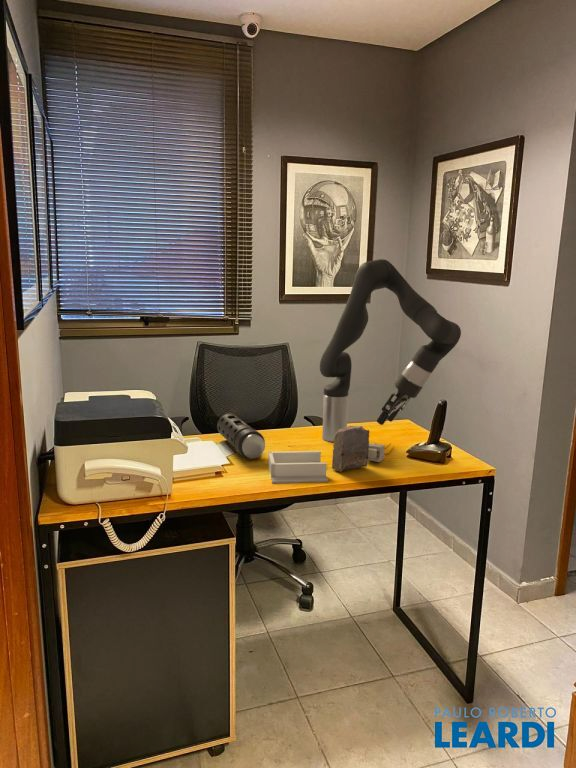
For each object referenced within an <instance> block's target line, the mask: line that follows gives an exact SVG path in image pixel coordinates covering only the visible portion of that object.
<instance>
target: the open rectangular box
mask: <svg viewBox="0 0 576 768" xmlns="http://www.w3.org/2000/svg"><path fill="white" fill-rule="evenodd" d="M321 453H322V452H321V450H307V451H306V450H302V451H301V450H298V451H297V450H296V451H286V450H284V451H268V453H267V454H268V458H267V459H268V461H267V462H268V465H267V466H268V470H269V474H270V475H271V476H270V481H271V480H272V481H271V483H272V484H303V483H304V484H305V483H306V482H307V484H308V483H309V482H311V483H329V479H328V476H327V464H328V463H327V462H326V461H325V462H322V461H321V459H322V458H321V457H322V456H321V455H322V454H321ZM299 482H301V483H299ZM302 482H303V483H302Z"/></svg>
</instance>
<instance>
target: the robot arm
mask: <svg viewBox="0 0 576 768" xmlns="http://www.w3.org/2000/svg"><path fill="white" fill-rule="evenodd" d="M384 288H385V289H388V290H389V291H391V292H392V293H393V294H394V295H396V297H397V299H398V303H399V305H400V308H401V311H402V312H403V313H404V314H405V316H407V317H408V318H409V319H410V320H411V321H413V323H415V324H416V325H417V326H418V327H419V328H420V329H421V331H422V332H424V333H425V335H426V336H427V337H428V338H429V339H430V340H431V341H429V343H428V344H426V345H425V344H424V345H421V346H420V347H419V349H418V350H417V351H416V353H415V354H414V356H413V357H412V359H411V360H410V361H409V363H408V364H407V365H406V366H405V368H404V369H403V371H402V372H401V374H400V375H399V376H398V378H397V379H396V381H395V383H394V387H395V388H396V389H397V392H396V393H391V395H390V396H389V397H388V399H387V401H386V402H385V403H384V405H383V406H382V408H381V411H382V412H381V413H380V415H379V416H378V418H377V420H376V422H377V423H378V425H380V426H383V425H384V424H385V423H386V421H389V422H391V423H392V422H393V421H394V420H395V418H396V417H397V415H398V414H399V413H400V412H401V411H403V410H404V409H405V406H406V405H407V404H408V402H409V401H410V399H411V398H412V399H416V398H417V397H418V395H419V394H420V392H421V391H422V390H423V388H424V387H425V385H426V383H428V380H430V377H431V375H432V373H433V372H434V370H435V369H436V368H437V366H438V365H439V362H441V360H442V359H444V358H445V357H446V356H447V355H448V354H449V353H450V352H451V351H452V349H454V348H455V347H456V346H457V344H458V343H459V341H460V339H461V337H462V330H461V327H460V326H459V325H458V324H457V323H456V322H453V321H451V320H448V319H446V318H445V317H444V316H442V315H441V314H439V312H438V311H437V309H436V308H435V307H434V305H432V304H431V303H429V302H428V301H427V300H426V299H425V298H424V297H422V295H420V294H419V293H418V292H417V291H415V290H414V288H413V287H412V286H411V285H410V284H409V282H408V281H407V280H406V279H405V278H404V276H402V274H401V273H400V271H398V269H397V268H396V267H395V265H393V264H392V263H391V262H390V261H389V260H387V259H384V258H381V259H375V260H369V261H366V262H363V263H361V264H360V265H359V267H358V269H357V271H356V274H355V276H354V280H353V283H352V287H351V290H350V294H349V297H348V299H347V302H346V304H345V307H344V309H343V311H342V313H341V316H340V319H339V321H338V323H337V326H336V329H335V331H334V333H333V335H332V338H331V340H330V341H329V344H328V345H327V347H326V349H325V350H324V352H323V353H322V355H321V358H320V361H319V372H320V374H321V375H322V376H323V377H324V378H335V379H334V381H332V382H331V383H329V384H327V385H325V386H324V388H323V400H322V401H323V403H322V404H323V406H322V407H323V408H322V409H323V411H322V432H321V433H322V434H321V436H322V437H321V439H322V440H323V441H327V442H332V443H334V441H333V439H334V437H335V435H336V433H337V432H338V431H339V429H341V428H344V427H348V413H349V412H348V410H349V390H350V387H351V377H352V367H353V366H352V358H351V355H350V354H349V353H348V352H346V350H347V349H348V348H349V347H351V346H352V345H354V344H355V343H356V342H357V341H358V340H359V339H360V338H361V337H362V335H363V334H364V332H365V330H366V327H367V325H368V322H369V313H368V309H367V302H368V300H369V298H370V296H371V294H372V293H373V292H374V291H376V290H380V289H381V290H382V289H384ZM388 408H389V409H388Z"/></svg>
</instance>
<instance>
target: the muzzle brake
mask: <svg viewBox="0 0 576 768" xmlns="http://www.w3.org/2000/svg"><path fill="white" fill-rule="evenodd" d="M216 429H217V431H218V433H219V434H220V435H221V436H222V437H223V438H224V439H225V440H226V441H227V442H228V443H230V444H231V446H233V447H234V449H236V451H237V452H238V453H239V455H241V456H242V457H244V458H246V459H252V460H253V459H257V458H259V457H261V456H262V455H263V453H264V451H265V449H266V440H265V438H264V436H263V435H262V434H261V432H259V431H258V430H256V429H254V428H252V427H251V426H250V425H248V424H247V423H246V422H245V421H243V420H242V419H241V418H240V417H238V416H237V415H236V414H234V413H225V414H223V415H222V416H221V417H220V418H219V419H218V421H217V425H216Z"/></svg>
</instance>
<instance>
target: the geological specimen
mask: <svg viewBox="0 0 576 768" xmlns="http://www.w3.org/2000/svg"><path fill="white" fill-rule="evenodd" d="M333 441H334V442H333V444H332V445H333V449H332V461H331V462H332V463H331V469H332V470H334V471H336V472H340V473H341V472H343V471H344V470H345V471H346V470H347V471H348V470H352V469H357V468H362V467H365V468H367V467H368V465H369V463H368V462H369V460H368V449H369V444H370V430H369V429H365V428H364V427H363V426H362V425H359V426H358V425H347V427H344V428H341V429H339V431H338V432H337V433H336V435H335V437H334V439H333Z"/></svg>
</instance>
